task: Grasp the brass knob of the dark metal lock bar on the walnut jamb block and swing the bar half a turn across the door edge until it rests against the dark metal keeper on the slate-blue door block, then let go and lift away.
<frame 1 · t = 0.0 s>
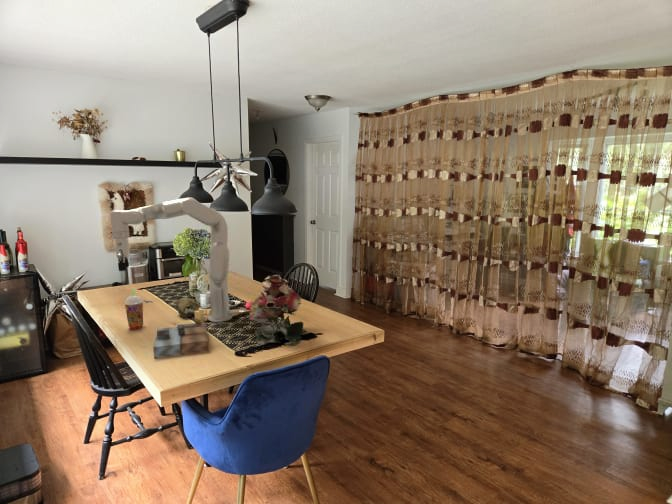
hand: (124, 268, 209), 31 cm above the table, tool pointing down, fingers open, 9 cm apart
smoothie: (136, 328, 215), on the table
lock bar: (190, 319, 191), point 12 cm above the table, hinge at 0.0°
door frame: (182, 344, 192), on the table
mineral specimen: (189, 315, 235), on the table
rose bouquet: (276, 335, 203), on the table
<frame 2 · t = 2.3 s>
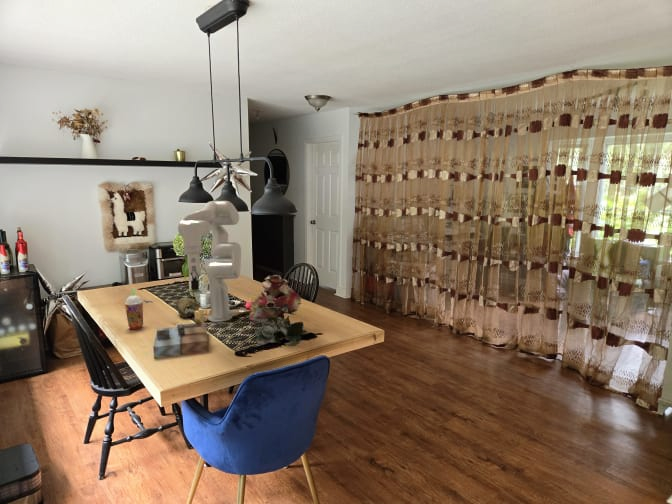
hand: (195, 286, 190), 27 cm above the table, tool pointing down, fingers open, 9 cm apart
nothing on the table moved.
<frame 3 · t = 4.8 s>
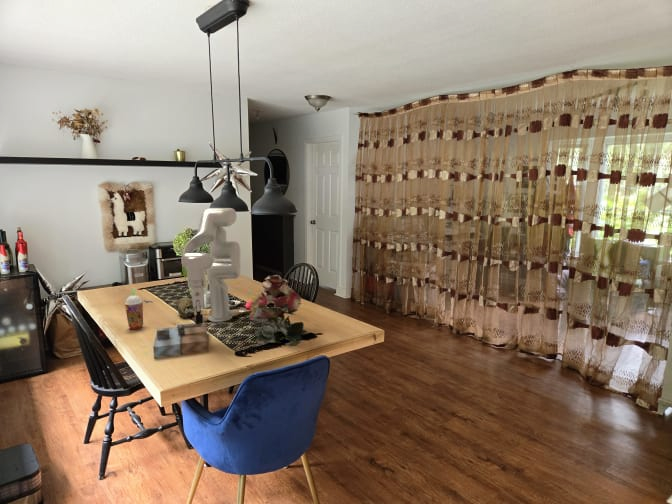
hand: (199, 321, 193), 10 cm above the table, tool pointing down, fingers closed on lock bar, 3 cm apart
lock bar: (190, 319, 191), point 12 cm above the table, hinge at 0.0°, touching gripper
everything else where it was.
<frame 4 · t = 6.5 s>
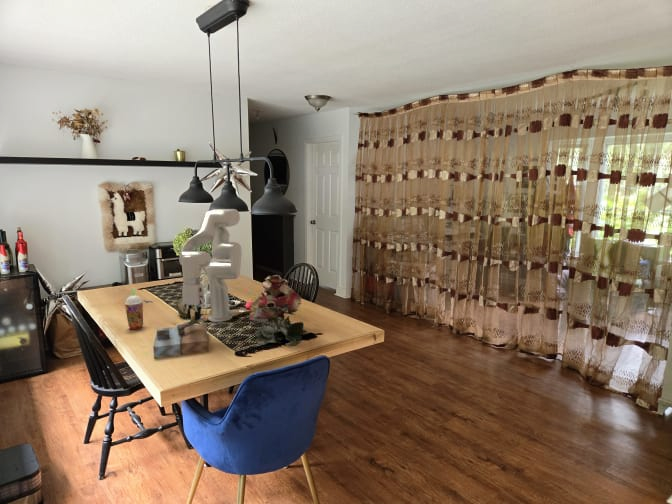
hand: (194, 318, 197), 10 cm above the table, tool pointing down, fingers closed on lock bar, 3 cm apart
lock bar: (187, 318, 193), point 12 cm above the table, hinge at 40.8°, touching gripper
everything else where it was.
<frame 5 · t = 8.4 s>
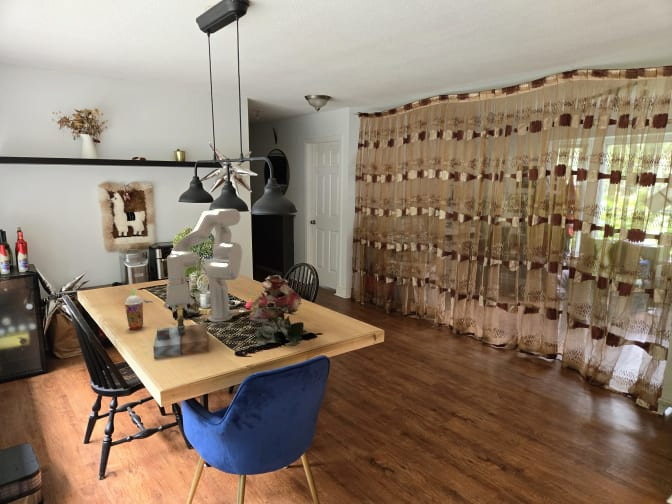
hand: (180, 318, 198), 10 cm above the table, tool pointing down, fingers closed on lock bar, 3 cm apart
lock bar: (180, 317, 194), point 12 cm above the table, hinge at 92.7°, touching gripper
everything else where it was.
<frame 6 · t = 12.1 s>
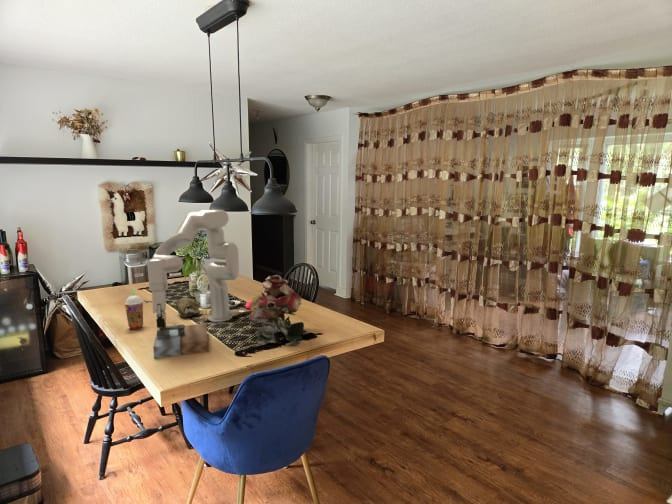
hand: (161, 324, 188), 11 cm above the table, tool pointing down, fingers open, 7 cm apart
lock bar: (170, 321, 189), point 12 cm above the table, hinge at 177.8°
everything else where it was.
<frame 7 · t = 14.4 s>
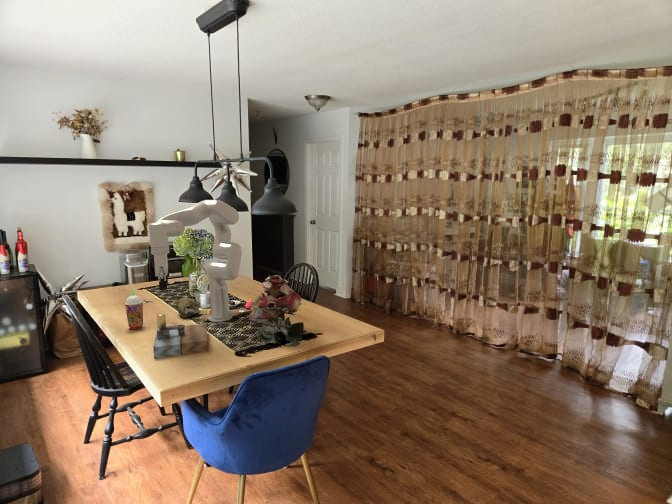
hand: (164, 287, 190), 27 cm above the table, tool pointing down, fingers open, 9 cm apart
nothing on the table moved.
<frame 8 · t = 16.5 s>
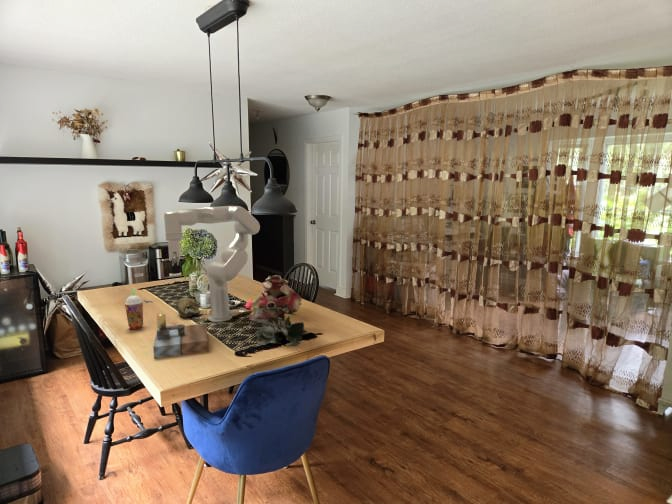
hand: (176, 271, 206), 30 cm above the table, tool pointing down, fingers open, 9 cm apart
nothing on the table moved.
at the end: lock bar at +178° (first picture: +0°); the gripper is holding nothing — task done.
